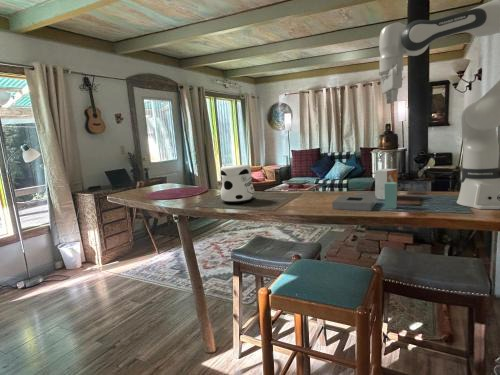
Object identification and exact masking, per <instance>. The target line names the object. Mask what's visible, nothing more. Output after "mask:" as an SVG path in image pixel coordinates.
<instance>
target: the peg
mask: <svg viewBox="0 0 500 375" xmlns="http://www.w3.org/2000/svg"><path fill="white" fill-rule="evenodd" d="M397 198H398V181H397V182H386V183H385V199H384V209H388V208H389V209H392V210H393V209H394V210H396V209H397V207H398V201H397V200H398V199H397Z"/></svg>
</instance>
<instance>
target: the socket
mask: <svg viewBox="0 0 500 375" xmlns="http://www.w3.org/2000/svg"><path fill="white" fill-rule="evenodd" d="M377 201H378V199H377V196H375V195H356V194H355V195H352V194H350V195H349V194H347V195H346V194H342V195H340V196H338V197H337V198H336V199H334V200H333V201H332V202H331V203H332V209H333V210H346V211H365V212H366V211H367V212H369V211H370V212H371V211H372V210H373V208H374V207H375V206H376V204H377V203H378V202H377Z"/></svg>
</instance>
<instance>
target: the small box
mask: <svg viewBox="0 0 500 375" xmlns="http://www.w3.org/2000/svg"><path fill="white" fill-rule="evenodd" d="M398 170H399V169H398V168H382V169H377V170H375V171H374V186H375V187H374V191H375V192H374V196H377V200H378V199H379V200H385V183H386V182H397V183H398Z"/></svg>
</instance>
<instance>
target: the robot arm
mask: <svg viewBox="0 0 500 375" xmlns="http://www.w3.org/2000/svg"><path fill="white" fill-rule="evenodd" d="M461 33H468V34H470V35H472V36H473V37H479V38H480V37H487V36H491V35H496V34H498V33H500V0H490V1H488V2H486V3H483V4H480V5H477V6H476V7H473V8H471V9H469V10H465V11H462V12H457V13H455V14H451V15H449V16H445V17H442V18H438V19H417V20H413V21H411V22H409V23H408V24H407V25H406V24H404V23H402V22H401V21H397V22H391V23H389V24H387V25H385V26H384V27H383V28H382V29H381V31H380V33H379V41H378V43H379V44H378V51H379V54H380V58H379V64H378V65H379V73H378V76H379V77H380V88H381V94H382V95H383V94H384V95H385V99H386V104H387V105H389V104H392V102H393V103H394V102H397V101H398V93H399V89H401V88H402V86H403V71H404V56H406V57H408V56H409V57H410V56H412V57H415V56H416V57H417V56H420V55H423V53H424V52H426V50H427V49H428V47H429V46H430V44H431V43H432V42H434V41H436V40H439V39H442V38H445V37H449V36H453V35H457V34H461ZM498 127H500V79H499V80H498V81H497V82H496V83H495V84H494V85H493V86H492V87H491V88H490V89H489V90H488V91H487V92H486V93H485V94H484V95H482V97H481V98H479V99H478V100H477V101H476V102H473V103H470V104H469V105H467V106H466V107H465V109H463V111H462V113H461V136H462V137H461V138H462V167H461V168H460V190H459V194H458V197H457V200H456V203H457V205H460V206H463V207H469V208H474V209H479V210H500V167H499V159H500V158H499V156H500V145H499V144H500V143H499V141H498V140H499V139H498V134H497V128H498Z"/></svg>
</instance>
